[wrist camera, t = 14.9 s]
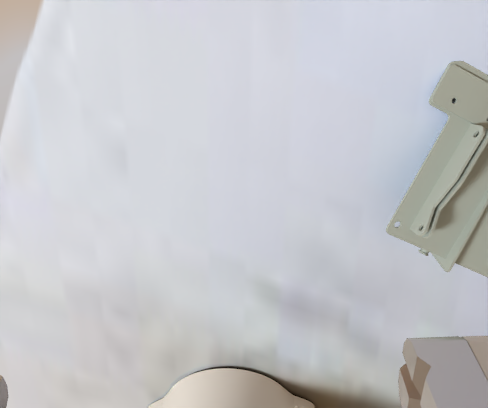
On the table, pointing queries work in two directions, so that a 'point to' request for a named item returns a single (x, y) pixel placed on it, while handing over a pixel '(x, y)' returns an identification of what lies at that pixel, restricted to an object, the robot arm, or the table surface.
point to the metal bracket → (452, 178)
